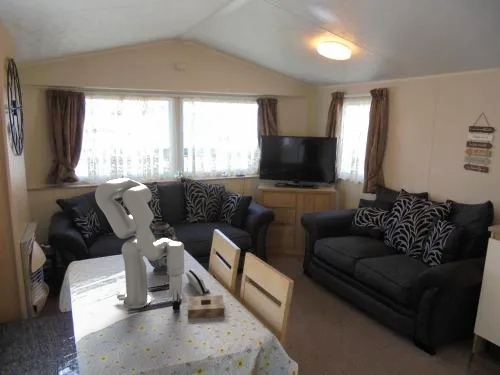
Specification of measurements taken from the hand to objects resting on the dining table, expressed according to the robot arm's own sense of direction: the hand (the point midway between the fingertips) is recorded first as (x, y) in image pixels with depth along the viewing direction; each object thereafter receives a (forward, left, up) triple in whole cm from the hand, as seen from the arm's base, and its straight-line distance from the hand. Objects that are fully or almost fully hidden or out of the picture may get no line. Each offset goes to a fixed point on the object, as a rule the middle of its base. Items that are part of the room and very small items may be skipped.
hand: (176, 307), depth 173 cm
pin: (0, 0, -2) cm, 2 cm away
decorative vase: (-10, +46, -2) cm, 48 cm away
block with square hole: (+13, 0, -2) cm, 13 cm away
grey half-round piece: (+9, +24, -3) cm, 26 cm away
